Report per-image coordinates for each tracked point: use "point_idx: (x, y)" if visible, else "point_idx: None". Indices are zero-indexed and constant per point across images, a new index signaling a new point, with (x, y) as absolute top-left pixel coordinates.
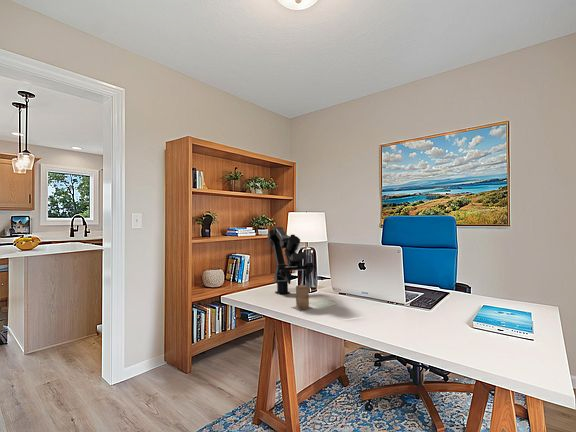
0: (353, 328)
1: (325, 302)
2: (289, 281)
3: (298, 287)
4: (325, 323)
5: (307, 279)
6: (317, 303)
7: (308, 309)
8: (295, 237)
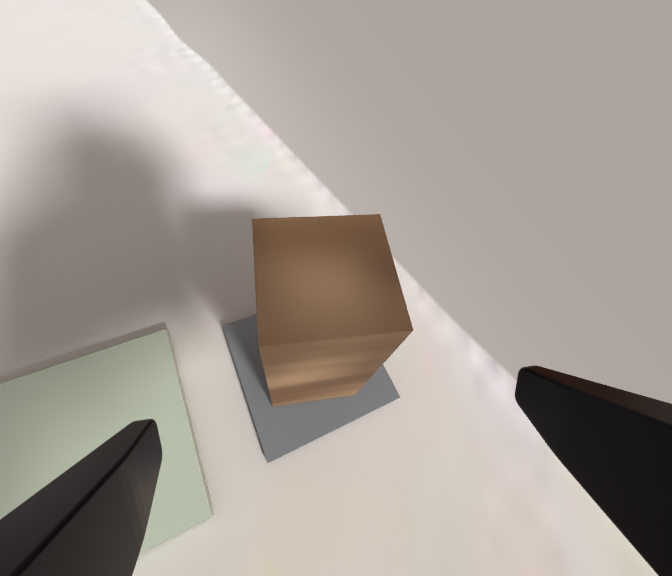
0: (171, 76)
1: (20, 493)
2: (556, 373)
3: (385, 234)
4: (257, 135)
5: (136, 445)
6: None
7: None
8: None
